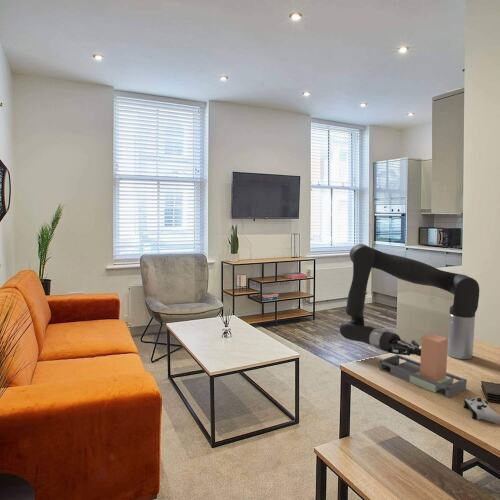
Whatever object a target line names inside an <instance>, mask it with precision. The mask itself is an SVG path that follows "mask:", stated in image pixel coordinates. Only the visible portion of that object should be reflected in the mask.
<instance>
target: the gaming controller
mask: <svg viewBox="0 0 500 500" xmlns="http://www.w3.org/2000/svg"><path fill="white" fill-rule="evenodd" d="M463 403H464V405H463V408H464V409H466V410H470V412H471V414H472V415H471V419H474V420H477V421H478V420H485V421H487V422H490V423H492V424H495V425H496V424H497V425H500V414H498V413H497V412H496V411H495V410H494V409H492V408H491V406H489V402H488V401H487V400H486V399H484V398H481V397H468V398H465V399H464V400H463Z"/></svg>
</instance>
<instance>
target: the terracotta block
mask: <svg viewBox="0 0 500 500" xmlns="http://www.w3.org/2000/svg"><path fill="white" fill-rule="evenodd" d="M420 349H421V357H420V362H419V363H420V376H423V377H425V378H428V379H430V380H433V381H435V382H437V381H440V380H442V379H444V378H446V372H447V363H448V354H447V350H448V337H444V336H440V335H437V334H434V333H430V334H426V335H424V336H421V345H420Z"/></svg>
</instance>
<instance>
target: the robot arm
mask: <svg viewBox="0 0 500 500" xmlns="http://www.w3.org/2000/svg"><path fill="white" fill-rule="evenodd" d="M349 259H350V260H351V262H352V266H353V267H352V269H353V270H352V281H351V283H350V287H349V291H348V295H347V301H346V307H345V308H346V309H345V313H346V315H347V316H349V317H351V318H350V319H351V320H348V321H344V322H342V323H341V324H340V325H339V333H340V335H341V336H342V337H343V338H344V339H346V340H349V341H353V342H359V343H360V342H361V343H364V344H366V345H368V346H369V345H370V346H372V347H374V348H376V349H378V350H381V351H384V352H387V353H390V354H393V355H400V356H408V357H409V356H411V355H412V356H418V357H420V358H421V348H420V345H419V344H418V342H416V340H411V341H410V342H409V341H407V340H405V339H401V337H400V336H399V334H397V333H395V332H391V331H388V330H385V329H381V328H376V327H373V326H370V325H365V317H364V308H365V303H366V295H367V288H368V281H369V278H370V274H371V271H372V269H376V270H380V271H382V272H384V273H386V274H387V275H391V276H392V277H395V278H397V279H399V280H402V281H405V282H408V283H412V284H416V285H421V286H430V287H435V288H437V289H440V290H443V291H446V292H448V293H450V294H452V295H453V303H452V305H450V307H449V315H448V317H449V318H448V330H447V331H448V333H447V338H448V350H447V356H450V357H452V358H453V359H459V360H470V359H472V358H473V354H474V342H475V323H476V322H475V321H476V312H477V310H478V308H479V299H480V285H479V283H478V281H477V280H476V279H474V278H473V277H471V276H468V275H466V274H461V273H456V272H451V271H446V270H442V269H439V268H437V267H434V266H433V265H430V264H427V263H424V262H421V261H419V260H415V259H413V258H409V257H405V256H400V255H395V254H390V253H386V252H383V251H381V250H378V249H375V248H373V247H370V246H369V245H366V244H363V243H361V244H360V243H359V244H356V245H354V246H353V247H352V248H351V249H350V251H349Z"/></svg>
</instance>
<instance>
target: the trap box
mask: <svg viewBox="0 0 500 500" xmlns="http://www.w3.org/2000/svg"><path fill="white" fill-rule="evenodd" d="M400 360H402V361H404V362H401V363H400ZM378 362H379V363H378V370H380V371H382V370H383V371H386V372H388V373H390V375H392V376H394V377H396V378H400V379H402V380H404V381H407V382H409V383H410V384H411V383H412V384H413V385H416V386H419V387H421V388H423V389H426V390H428V391H430V392H433V393H439V394H441V395H444V397H445V398H447V399H449V398H451V397H453V396H455V395H457V394H459V393H461V392H463V391H464V390H467V380H468V379H466V378H464V377H461V376H458V375H455V374H452V373H449V372H447V371H446V378H444V379H442V380H440V381H437V382H435V381H433V380H430V379H428V378H425V377H423V376H420V362H419V361H416V360H414V359H411V358H408V357H405V356H404V355H399V354H394V355H392V356H388V357H386V358H384V359H380V360H379V361H378ZM454 380H457V381H456V382H454Z"/></svg>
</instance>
